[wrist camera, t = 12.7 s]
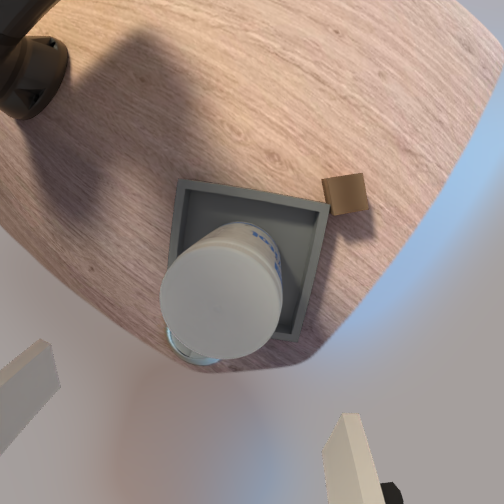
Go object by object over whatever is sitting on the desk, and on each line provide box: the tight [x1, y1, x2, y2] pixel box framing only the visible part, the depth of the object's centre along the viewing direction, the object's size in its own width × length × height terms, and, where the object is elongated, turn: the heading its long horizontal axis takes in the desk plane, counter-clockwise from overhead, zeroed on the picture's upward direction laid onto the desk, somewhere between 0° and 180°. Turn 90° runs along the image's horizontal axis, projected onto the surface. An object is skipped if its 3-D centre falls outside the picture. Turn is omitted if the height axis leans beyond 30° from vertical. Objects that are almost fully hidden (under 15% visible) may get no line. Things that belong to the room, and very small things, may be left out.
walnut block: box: [321, 173, 369, 216], centre depth 31 cm, size 4×4×4 cm
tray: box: [167, 179, 330, 342], centre depth 34 cm, size 17×17×3 cm
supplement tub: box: [160, 222, 283, 359], centre depth 28 cm, size 10×10×15 cm
